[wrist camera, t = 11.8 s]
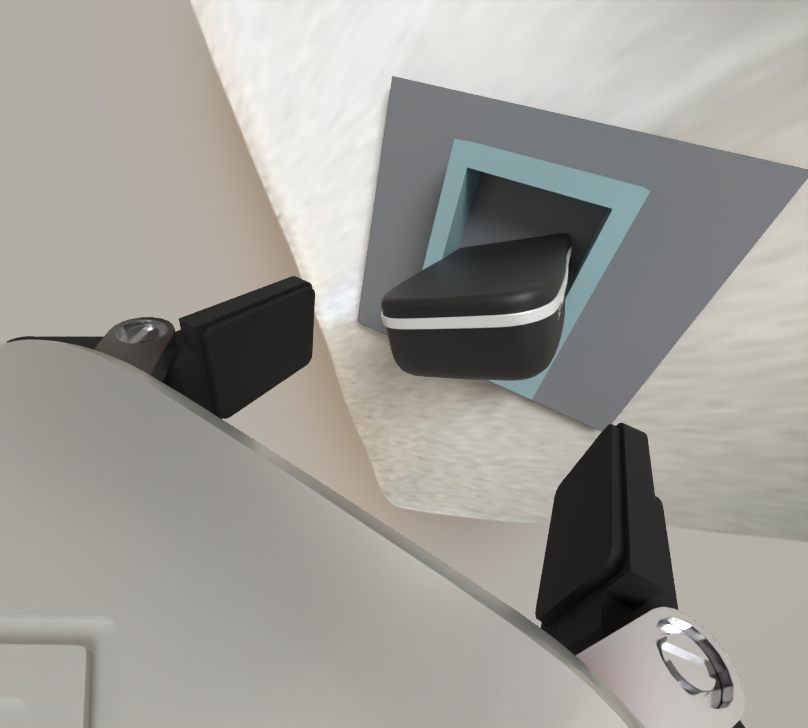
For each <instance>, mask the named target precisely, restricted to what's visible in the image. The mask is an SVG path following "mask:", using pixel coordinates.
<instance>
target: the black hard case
mask: <svg viewBox="0 0 808 728" xmlns="http://www.w3.org/2000/svg"><path fill="white" fill-rule="evenodd" d="M572 253H573V245H571V238H570V236H569V235H568V234H555V235H548V236H540V237H533V238H526V239H518V240H511V241H504V242H497V243H490V244H483V245H476V246H469V247H462V248H459V249H457V250H456V251H454V252H453V253H451V254H450V255H448V256H446V257H445V258H443V259H441V260H440V261H438V262H436V263H434V264H432V265H431V266H429V267H427V268H425V269H424V270H422V271H420V272H418V273H417V274H415V275H413V276H412V277H410V278H408V279H407V280H405V281H404V282H402V283H401V284H399V285H397V286H396V287H394V288H393V289H391V290H390V291H389V292H387V293H386V294H385V295H384V296H383V298H382V302H381V307H382V312H381V317H382V321H383V324H384V326H386V329H387V333H388V338H389V342H390V346H391V350H392V354H393V357H394V359H395V362H396V363H397V364H398V366H399V367H400V368H401V369H402V370H403V371H405V372H407V373H409V374H412V375H416V376H425V377H440V378H456V379H477V380H502V381H517V380H525V379H529V378H532V377H535V376H537V375H538V374H539V373H541V372H542V371H544V370H545V369H546V368H548V366H549V364H550V363H551V361H552V359H553V358H554V356H555V354H556V351H557V348H558V345H559V342H560V339H561V335H562V331H563V325H564V317H565V292H566V285H567V280H568V274H569V269H570V266H571V255H572Z"/></svg>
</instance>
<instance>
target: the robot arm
mask: <svg viewBox="0 0 808 728" xmlns="http://www.w3.org/2000/svg"><path fill="white" fill-rule="evenodd" d="M314 305H315V292H314V290H313V289H312V285H311V284H310V283H309V282H307V281H305V280H302V279H300V278H298V277H295V276H293V277H289V278H287V279H284V280H281V281H279V282H276V283H274V284H271V285H268V286H265V287H262V288H260V289H257V290H254V291H252V292H249V293H247V294H244V295H241V296H238V297H236V298H233V299H230V300H228V301H225V302H222V303H220V304H217V305H214V306H211V307H209V308H206V309H203V310H201V311H198V312H195V313H193V314H190V315H187V316H185V317H182V318H179V322H180V327H181V330H179V331H176V332H175V328H174V326H173V324H172V323H170V322H169V321H167V320H164V319H161V318H154V317H141V318H135V319H130V320H126V321H123V322H121V323H119V324H117V325H115V326H114V327H112V328H111V329H110V330H109V331H108V333H107V334H106V335H105V336H104V337H33V336H32V337H31V336H27V337H19V338H15V339H12V340H9V341H7V343H3V344H0V728H745V727H744V726H743V724H742V723H741V721H740V719H741V717H742V715H743V713H744V711H745V693H744V689H743V686H742V683H741V680H740V677H739V675H738V673H737V671H736V669H735V667H734V665H733V663H732V661H731V659H730V658H729V656H728V655H727V654H726V652H725V651H724V650H723V648H722V647H721V645H720V644H719V643H718V641H717V640H716V639H715V638H714V637H713V636H712V635H711V634H710V633H709V632H708V631H707V630H706V629H705V628H704V627H703V626H702V625H700V624H699V623H698V622H696V621H695V620H694V619H692V618H691V617H690V616H688V615H686V614H684V613H682V612H680V611H678V606H677V599H676V593H675V585H674V578H673V571H672V565H671V558H670V552H669V544H668V538H667V531H666V524H665V517H664V510H663V505H662V502H661V500H660V499H659V498H658V497H656V496H655V493H654V485H653V477H652V469H651V462H650V454H649V446H648V438H647V434H646V433H644V432H642V431H640V430H637V429H635V428H633V427H631V426H628V425H626V424H624V423H619V424H618V425H617V426H614V425H612V424H609V425H607V426H606V428H605V429H604V430H603V431H602V433H601V434H600V435H599V436H598V438H597V439H596V440H595V441H594V443H593V444H592V445H591V446H590V448H589V449H588V450H587V451H586V453H585V454H584V455H583V456H582V458H581V459H580V460H579V461H578V463H577V464H576V465H575V466H574V468H573V469H572V470H571V471H570V473H569V474H568V475H567V476H566V478H565V479H564V480H563V481H562V483H561V484H560V485H559V487H558V489H557V491H556V494H555V498H554V504H553V510H552V516H551V522H550V528H549V534H548V540H547V546H546V552H545V558H544V564H543V570H542V575H541V581H540V587H539V593H538V599H537V605H536V613H535V614H536V618H537V619H538V620H540V621H541V622H542V624H541V628H539V627H538V626H537V625H535V624H534V623H532V622H531V621H530V620H528V619H527V618H526V617H524V616H523V615H522V614H520V613H519V612H517V611H516V610H515V609H513V608H512V607H510V606H509V605H507V604H505V603H504V602H503V601H501V600H500V599H498V598H497V597H495V596H494V595H492V594H491V593H489V592H488V591H486V590H484V589H483V588H482V587H480V586H479V585H477V584H476V583H474V582H473V581H471V580H470V579H468V578H467V577H465V576H464V575H462V574H461V573H459V572H458V571H456V570H455V569H453V568H452V567H451V566H449V565H448V564H446V563H445V562H443V561H441V560H440V559H438V558H437V557H435V556H434V555H432V554H431V553H429V552H428V551H426V550H424V549H423V548H421V547H420V546H418V545H416V544H415V543H413V542H412V541H410V540H409V539H407V538H406V537H404V536H403V535H401V534H400V533H398V532H396V531H395V530H394V529H392V528H390V527H389V526H387V525H386V524H384V523H383V522H381V521H380V520H378V519H377V518H375V517H373V516H372V515H370V514H369V513H367V512H366V511H364V510H363V509H361V508H360V507H358V506H357V505H355V504H353V503H352V502H350V501H349V500H347V499H346V498H344V497H343V496H341V495H339V494H338V493H336V492H335V491H333V490H332V489H330V488H329V487H327V486H325V485H324V484H322V483H321V482H319V481H318V480H316V479H314V478H313V477H311V476H310V475H308V474H307V473H305V472H304V471H302V470H300V469H299V468H297V467H295V466H294V465H292V464H291V463H289V462H288V461H286V460H285V459H283V458H282V457H280V456H279V455H277V454H275V453H274V452H272V451H271V450H269V449H268V448H266V447H264V446H263V445H261V444H260V443H258V442H257V441H255V440H254V439H252V438H250V437H249V436H247V435H246V434H244V433H242V432H241V431H239V430H238V429H236V428H235V427H233V426H231V425H230V424H228V423H227V422H225V421H223V420H222V419H223V418H225V419H226V418H229V417H231V416H232V415H234V414H235V413H237V412H238V411H240V410H241V409H242V408H244V407H246V406H247V405H249V404H250V403H251V402H253V401H254V400H256V399H257V398H259V397H260V396H262V395H263V394H264V393H266V392H268V391H269V390H271V389H272V388H273V387H275V386H276V385H278V384H279V383H281V382H282V381H284V380H285V379H287V378H288V377H290V376H291V375H293V374H294V373H296V372H297V371H298V370H300V369H301V368H303V367H304V366H306V365H307V364H308V363H309V362H310V360H311V358H312V347H313V326H314Z"/></svg>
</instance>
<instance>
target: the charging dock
mask: <svg viewBox="0 0 808 728" xmlns="http://www.w3.org/2000/svg"><path fill="white" fill-rule="evenodd" d="M807 178H808V170H807V169H803V168H798V167H794V166H789V165H785V164H780V163H776V162H772V161H767V160H763V159H758V158H754V157H749V156H745V155H740V154H736V153H732V152H727V151H723V150H718V149H714V148H709V147H705V146H700V145H696V144H692V143H687V142H683V141H678V140H674V139H669V138H665V137H660V136H656V135H651V134H647V133H643V132H638V131H634V130H629V129H625V128H620V127H616V126H611V125H607V124H603V123H598V122H594V121H589V120H585V119H580V118H576V117H571V116H567V115H563V114H558V113H554V112H549V111H545V110H540V109H536V108H531V107H527V106H523V105H518V104H514V103H509V102H505V101H500V100H496V99H491V98H487V97H483V96H478V95H474V94H469V93H465V92H460V91H456V90H451V89H447V88H443V87H438V86H434V85H429V84H425V83H420V82H416V81H411V80H407V79H403V78H398V77H394V76H392V82H391V89H390V97H389V104H388V111H387V118H386V125H385V132H384V139H383V146H382V153H381V160H380V167H379V174H378V181H377V188H376V195H375V203H374V210H373V217H372V224H371V231H370V238H369V245H368V252H367V259H366V266H365V273H364V280H363V287H362V294H361V301H360V309H359V316H358V322H359V323H361V324H363V325H366V326H368V327H370V328H372V329H374V330H377V331H379V332H381V333H383V334H386V335H388V333H387V329H386V326H384V324H383V321H382V317H381V312H382V307H381V302H382V298H383V296H384V295H385V294H386V293H387V292H389V291H390V290H391V289H393V288H394V287H396V286H397V285H399V284H401V283H402V282H404V281H405V280H407V279H408V278H410V277H412V276H413V275H415V274H417V273H418V272H420V271H422V270H424V269H425V268H427V267H429V266H431V265H432V264H434V263H436V262H438V261H440V260H441V259H443V258H445V257H446V256H448V255H450V254H451V253H453V252H454V251H456V250H457V249H459V248H462V247H469V246H476V245H483V244H490V243H497V242H504V241H511V240H518V239H526V238H533V237H540V236H548V235H555V234H568V235H569V236H570V238H571V245H573V253H572V255H571V266H570V269H569V274H568V280H567V285H566V292H565V317H564V325H563V331H562V335H561V339H560V342H559V345H558V348H557V351H556V354H555V356H554V358H553V359H552V361H551V363H550V364H549V366H548V368H546V369H545V370H544V371H542V372H541V373H539V374H538V375H537V376H535V377H532V378H529V379H525V380H517V381H502V380H488V381H490V382H492V383H495V384H497V385H499V386H501V387H504V388H506V389H508V390H510V391H513V392H515V393H517V394H519V395H521V396H524V397H526V398H528V399H530V400H533V401H535V402H537V403H539V404H541V405H544V406H546V407H548V408H550V409H553V410H555V411H557V412H559V413H562V414H564V415H566V416H568V417H570V418H573V419H575V420H577V421H579V422H582V423H584V424H586V425H588V426H590V427H593V428H595V429H597V430H599V431H603V430H604V429H605V428H606V426H607V425H609V424H612V423H613V421H614V420H615V419H616V418H617V416H618V415H619V414H620V413H621V411H622V410H623V409H624V408H625V406H626V405H627V404H628V403H629V401H630V400H631V399H632V398H633V396H634V395H635V394H636V393H637V391H638V390H639V389H640V388H641V386H642V385H643V384H644V383H645V381H646V380H647V379H648V378H649V376H650V375H651V374H652V373H653V371H654V370H655V369H656V368H657V366H658V365H659V364H660V363H661V361H662V360H663V359H664V358H665V356H666V355H667V354H668V352H669V351H670V350H671V349H672V347H673V346H674V345H675V344H676V342H677V341H678V340H679V339H680V337H681V336H682V335H683V334H684V332H685V331H686V330H687V329H688V327H689V326H690V325H691V324H692V322H693V321H694V320H695V319H696V317H697V316H698V315H699V314H700V312H701V311H702V310H703V309H704V307H705V306H706V305H707V304H708V302H709V301H710V300H711V299H712V297H713V296H714V295H715V294H716V292H717V291H718V290H719V289H720V287H721V286H722V285H723V284H724V282H725V281H726V280H727V279H728V277H729V276H730V275H731V274H732V272H733V271H734V270H735V269H736V267H737V266H738V265H739V264H740V262H741V261H742V260H743V259H744V257H745V256H746V255H747V254H748V252H749V251H750V250H751V248H752V247H753V246H754V245H755V243H756V242H757V241H758V240H759V238H760V237H761V236H762V235H763V233H764V232H765V231H766V230H767V228H768V227H769V226H770V225H771V223H772V222H773V221H774V220H775V218H776V217H777V216H778V215H779V213H780V212H781V211H782V210H783V208H784V207H785V206H786V205H787V203H788V202H789V201H790V200H791V198H792V197H793V196H794V195H795V193H796V192H797V191H798V190H799V188H800V187H801V186H802V185H803V183H804V182H805V181H806V180H807Z"/></svg>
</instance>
